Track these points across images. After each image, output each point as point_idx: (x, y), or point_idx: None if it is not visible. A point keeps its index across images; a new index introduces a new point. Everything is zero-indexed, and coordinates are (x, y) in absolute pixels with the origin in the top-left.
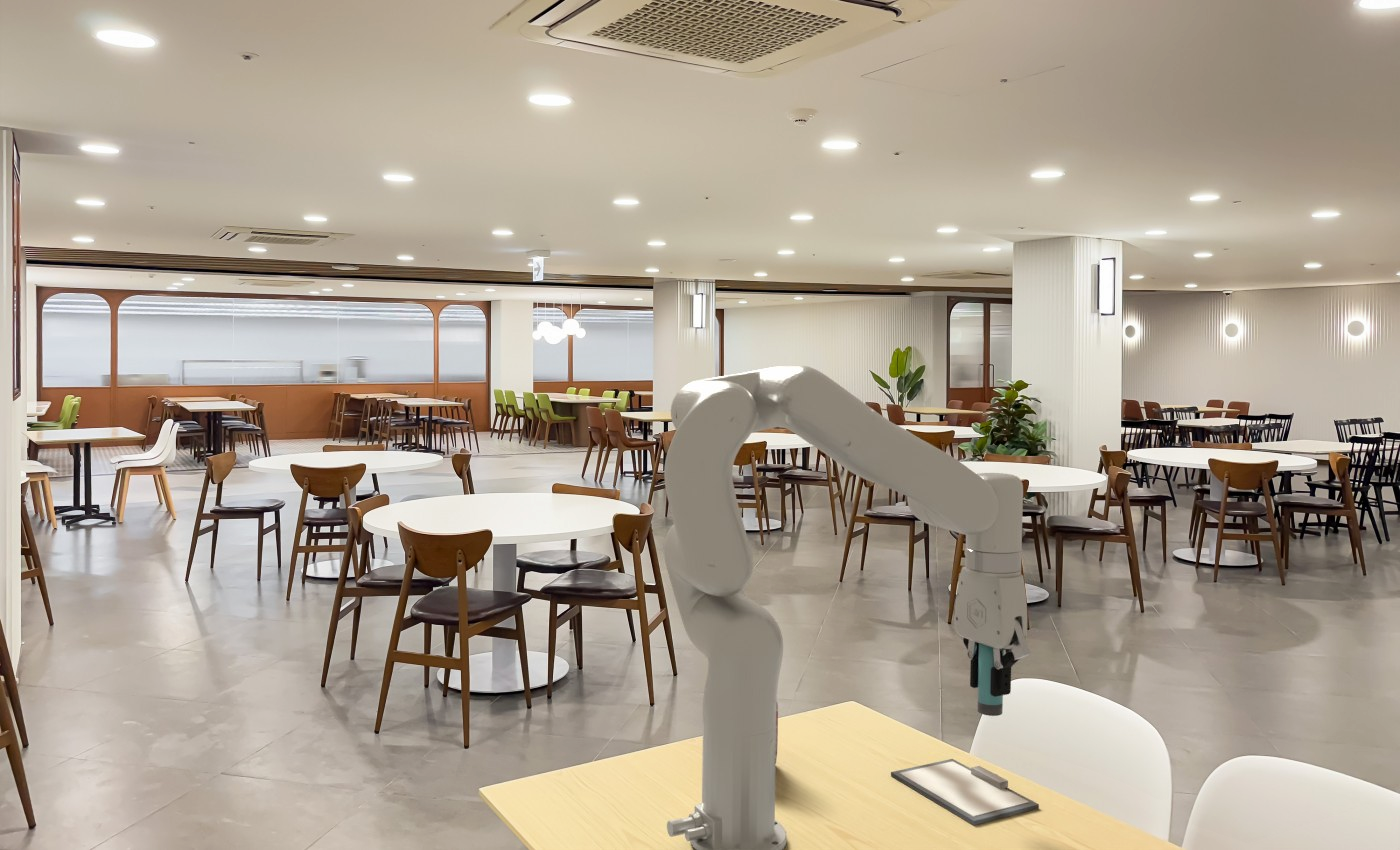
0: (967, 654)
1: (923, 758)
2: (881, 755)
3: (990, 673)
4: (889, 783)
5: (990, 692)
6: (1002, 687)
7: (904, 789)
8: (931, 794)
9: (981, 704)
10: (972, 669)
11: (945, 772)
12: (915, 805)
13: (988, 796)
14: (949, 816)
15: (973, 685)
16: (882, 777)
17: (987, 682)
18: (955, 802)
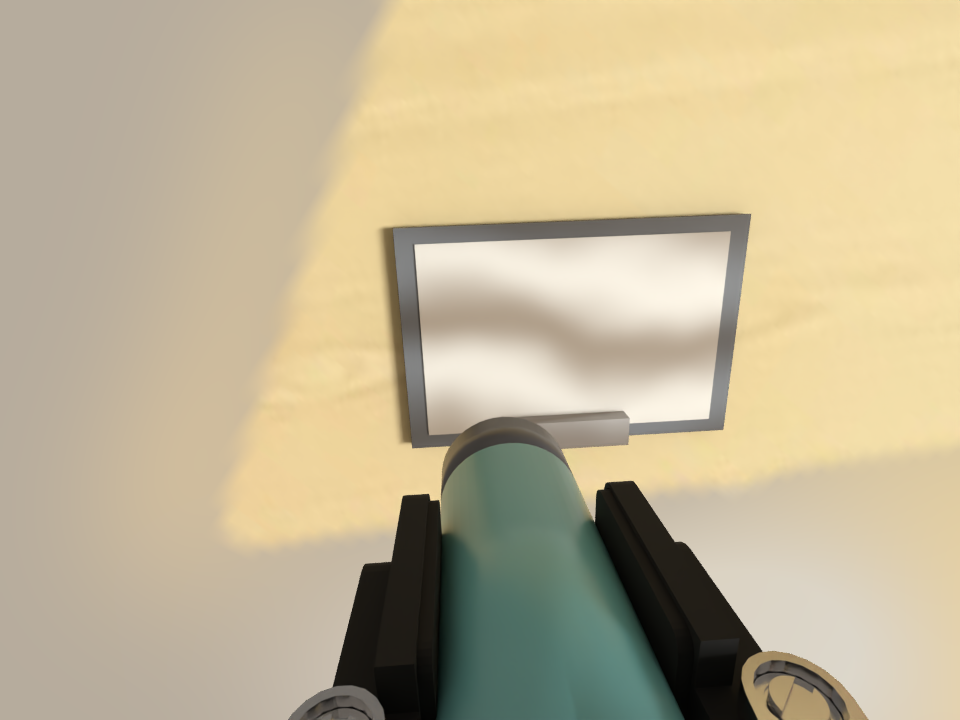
0: (837, 683)
1: (779, 374)
2: (862, 279)
3: (464, 620)
4: (709, 177)
5: (437, 503)
6: (362, 581)
7: (656, 194)
8: (576, 228)
9: (503, 440)
10: (662, 567)
11: (665, 356)
12: (560, 154)
13: (496, 363)
14: (464, 202)
15: (608, 491)
16: (750, 184)
17: (477, 544)
18: (503, 256)
